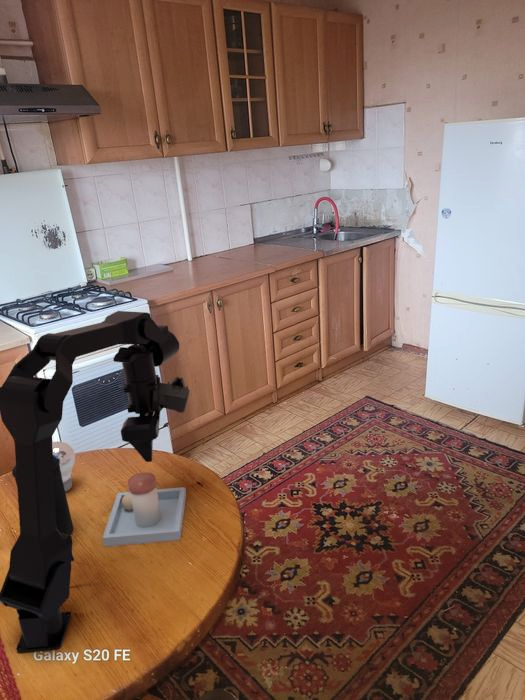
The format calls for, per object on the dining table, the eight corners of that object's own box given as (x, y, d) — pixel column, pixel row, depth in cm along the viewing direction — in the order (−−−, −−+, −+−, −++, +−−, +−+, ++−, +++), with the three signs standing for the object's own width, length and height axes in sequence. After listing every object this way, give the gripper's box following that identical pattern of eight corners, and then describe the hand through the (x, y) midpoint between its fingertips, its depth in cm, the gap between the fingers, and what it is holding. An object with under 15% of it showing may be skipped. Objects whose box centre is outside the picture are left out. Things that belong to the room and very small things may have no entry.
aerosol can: (59, 553, 99) (37, 460, 92) (21, 548, 101) (-4, 456, 94) (83, 524, 106) (64, 435, 99) (47, 520, 108) (26, 433, 101)
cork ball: (137, 512, 108) (135, 499, 107) (121, 513, 108) (119, 500, 106) (140, 502, 111) (137, 489, 110) (124, 504, 111) (122, 491, 109)
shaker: (159, 526, 103) (153, 486, 100) (132, 528, 103) (125, 488, 100) (162, 509, 108) (157, 471, 105) (137, 512, 108) (130, 473, 105)
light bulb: (66, 479, 122) (55, 433, 118) (88, 486, 119) (78, 438, 114) (41, 496, 116) (29, 448, 112) (64, 504, 113) (53, 454, 109)
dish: (180, 542, 99) (178, 531, 98) (104, 549, 99) (102, 538, 98) (186, 497, 112) (185, 487, 112) (119, 503, 112) (117, 492, 111)
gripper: (179, 394, 92) (189, 471, 97) (187, 354, 109) (196, 422, 115) (113, 399, 91) (128, 477, 97) (132, 359, 109) (144, 426, 114)
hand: (152, 448), depth 106 cm, fingers open, 9 cm apart
